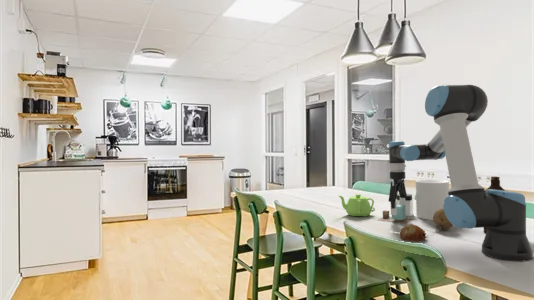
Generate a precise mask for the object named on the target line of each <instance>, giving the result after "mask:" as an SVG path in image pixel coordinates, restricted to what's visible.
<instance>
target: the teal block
mask: <svg viewBox="0 0 534 300" xmlns="http://www.w3.org/2000/svg"><path fill="white" fill-rule="evenodd" d="M391 217H392V219H396V220H404V219H405V218H406V217H407V216H406V213H405V205H397V215H391Z"/></svg>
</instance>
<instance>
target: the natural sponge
mask: <svg viewBox="0 0 534 300" xmlns="http://www.w3.org/2000/svg"><path fill="white" fill-rule="evenodd" d="M432 222H433V223H434V224H435V225H436V226H437V227H439V228H440V229H442V230H443V231H449V229H450V228H452V227H453V226H454V225H453V224H452V223H451V222H449V220H448V219H447V217H446V215H445V212H444V209H439V210H437V211H436V212H435V213H434V216H433V220H432Z"/></svg>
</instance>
